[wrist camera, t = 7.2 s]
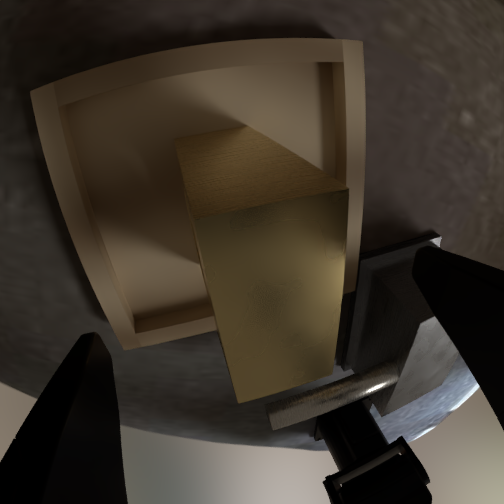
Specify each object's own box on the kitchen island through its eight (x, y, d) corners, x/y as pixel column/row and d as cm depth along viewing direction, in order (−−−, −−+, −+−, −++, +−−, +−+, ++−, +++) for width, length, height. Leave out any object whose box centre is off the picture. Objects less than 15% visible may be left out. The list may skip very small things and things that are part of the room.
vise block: (407, 338, 26) (443, 385, 21) (253, 394, 23) (277, 459, 18) (436, 232, 20) (495, 279, 15) (233, 287, 17) (267, 373, 12)
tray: (340, 273, 19) (355, 290, 17) (125, 327, 17) (124, 350, 15) (340, 42, 12) (362, 41, 10) (45, 89, 10) (29, 91, 8)
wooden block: (260, 250, 16) (332, 374, 9) (199, 264, 15) (238, 403, 9) (247, 125, 12) (349, 188, 6) (173, 138, 12) (194, 219, 5)
